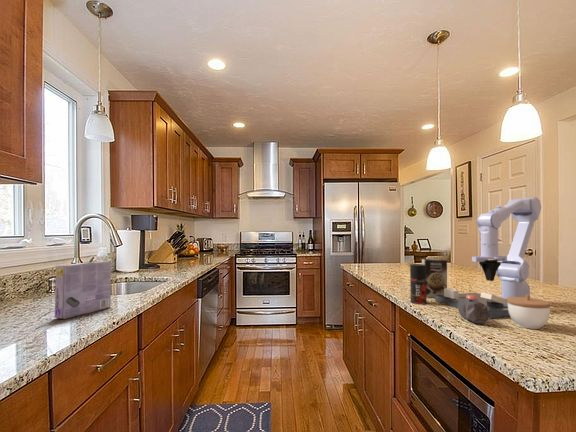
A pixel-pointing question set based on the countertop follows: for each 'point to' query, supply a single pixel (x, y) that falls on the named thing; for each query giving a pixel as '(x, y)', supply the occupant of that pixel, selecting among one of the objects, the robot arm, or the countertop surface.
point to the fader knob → (451, 293)
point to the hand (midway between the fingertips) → (490, 280)
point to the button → (472, 297)
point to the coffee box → (435, 276)
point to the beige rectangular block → (494, 298)
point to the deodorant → (418, 283)
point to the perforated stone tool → (473, 310)
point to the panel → (493, 308)
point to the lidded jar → (528, 311)
